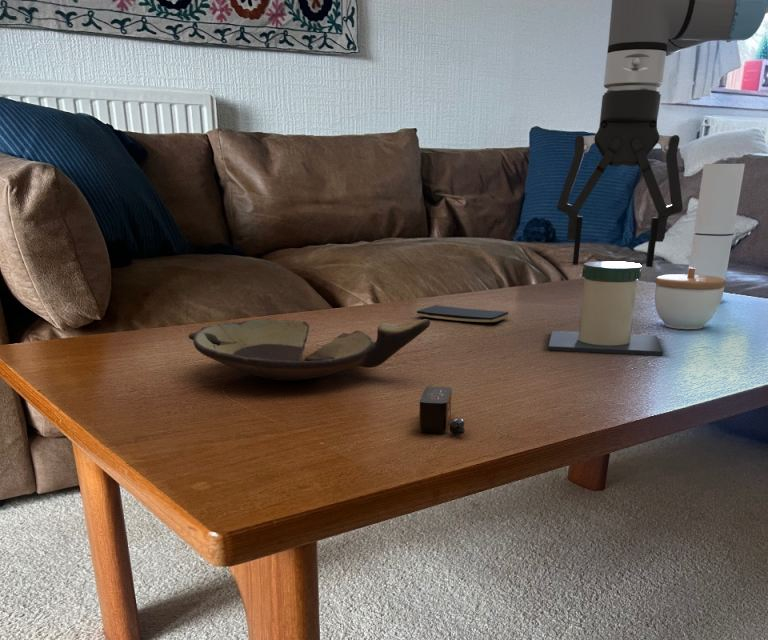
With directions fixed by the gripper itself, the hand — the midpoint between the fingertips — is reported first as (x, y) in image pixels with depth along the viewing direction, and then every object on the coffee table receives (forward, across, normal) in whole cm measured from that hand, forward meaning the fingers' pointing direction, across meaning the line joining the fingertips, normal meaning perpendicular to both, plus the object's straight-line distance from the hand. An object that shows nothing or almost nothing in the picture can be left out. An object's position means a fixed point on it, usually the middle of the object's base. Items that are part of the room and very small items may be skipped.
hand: (611, 264), depth 113 cm
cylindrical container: (+12, +20, +48) cm, 53 cm away
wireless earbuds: (+12, -17, -46) cm, 50 cm away
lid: (0, 0, 0) cm, 0 cm away
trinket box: (+12, +14, +18) cm, 25 cm away
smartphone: (+12, -24, +17) cm, 32 cm away
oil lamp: (+12, -38, -29) cm, 49 cm away
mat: (+12, 0, 0) cm, 12 cm away
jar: (+11, 0, 0) cm, 11 cm away
